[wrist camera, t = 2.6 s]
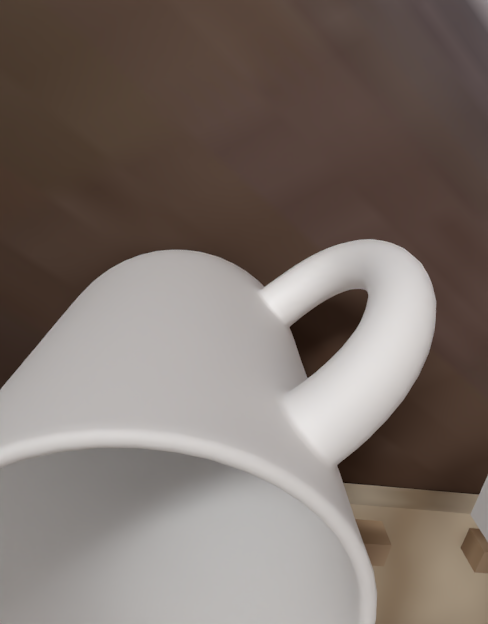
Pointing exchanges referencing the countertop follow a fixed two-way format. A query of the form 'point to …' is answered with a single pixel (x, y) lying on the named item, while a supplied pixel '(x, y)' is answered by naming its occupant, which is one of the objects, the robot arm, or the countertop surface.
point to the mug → (202, 443)
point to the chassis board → (423, 554)
